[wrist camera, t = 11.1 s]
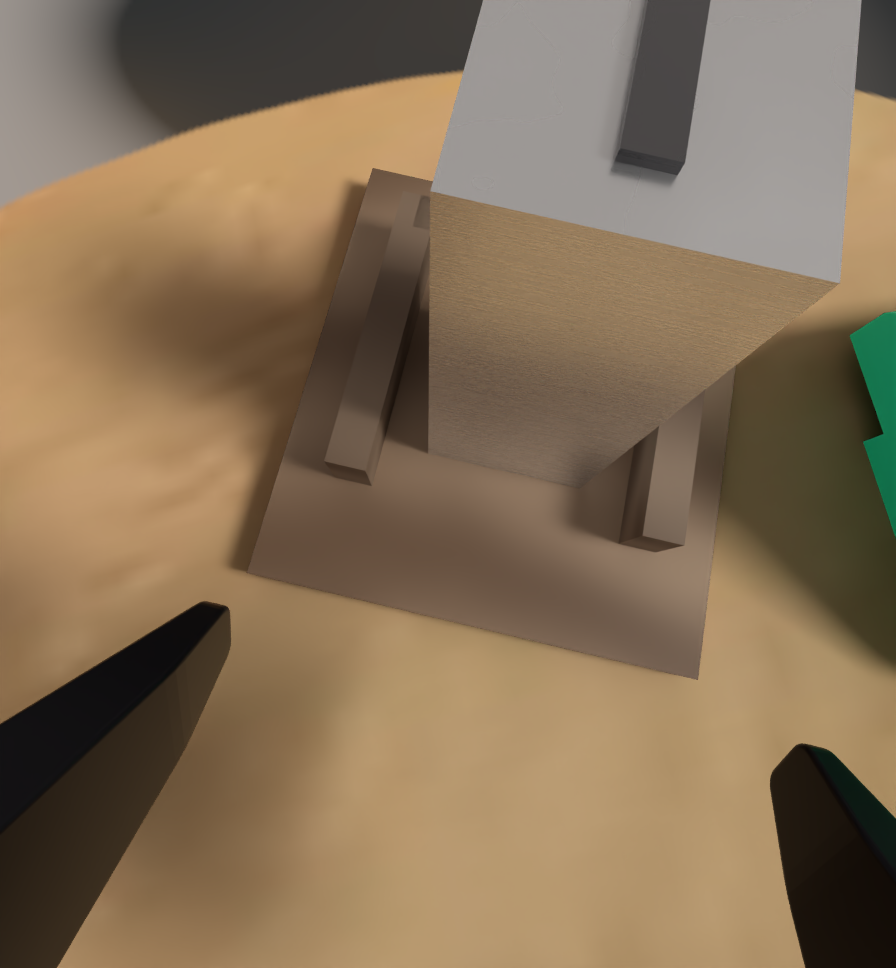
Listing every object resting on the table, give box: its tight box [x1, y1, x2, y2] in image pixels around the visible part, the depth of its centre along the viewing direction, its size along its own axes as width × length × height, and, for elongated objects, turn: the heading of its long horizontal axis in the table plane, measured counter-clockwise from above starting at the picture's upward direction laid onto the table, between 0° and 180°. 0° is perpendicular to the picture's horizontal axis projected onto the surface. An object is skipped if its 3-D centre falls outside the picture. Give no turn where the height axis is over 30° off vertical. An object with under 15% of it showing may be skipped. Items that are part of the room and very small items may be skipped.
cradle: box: [247, 168, 736, 680], centre depth 18 cm, size 15×14×3 cm
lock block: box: [428, 0, 861, 488], centre depth 13 cm, size 5×5×12 cm
